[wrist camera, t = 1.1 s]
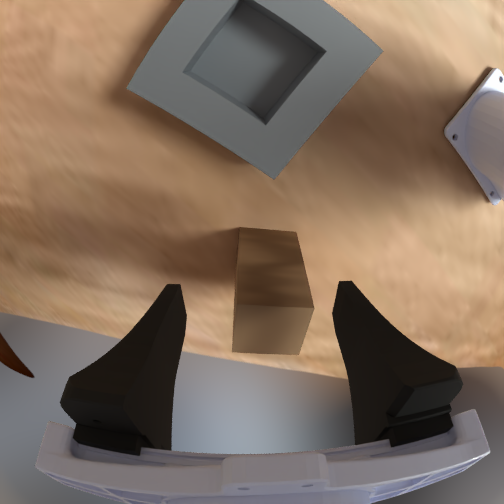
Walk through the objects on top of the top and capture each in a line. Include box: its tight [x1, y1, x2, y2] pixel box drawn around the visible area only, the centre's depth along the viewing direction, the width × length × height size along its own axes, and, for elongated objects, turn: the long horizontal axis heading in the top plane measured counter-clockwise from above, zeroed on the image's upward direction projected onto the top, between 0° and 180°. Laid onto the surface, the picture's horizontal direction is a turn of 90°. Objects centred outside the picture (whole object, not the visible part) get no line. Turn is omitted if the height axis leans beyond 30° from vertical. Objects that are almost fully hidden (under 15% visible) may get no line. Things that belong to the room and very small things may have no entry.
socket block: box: [126, 0, 383, 179], centre depth 15 cm, size 10×10×3 cm
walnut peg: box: [232, 227, 314, 355], centre depth 21 cm, size 4×4×8 cm
